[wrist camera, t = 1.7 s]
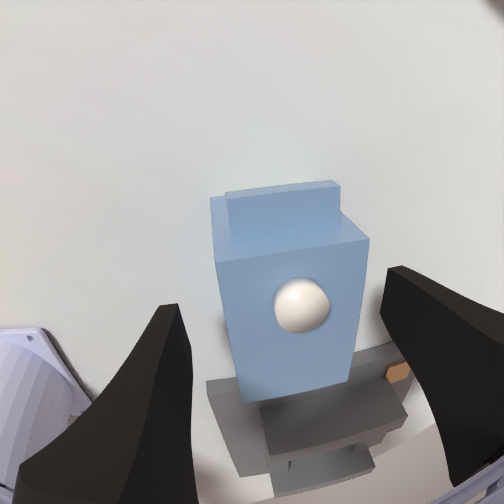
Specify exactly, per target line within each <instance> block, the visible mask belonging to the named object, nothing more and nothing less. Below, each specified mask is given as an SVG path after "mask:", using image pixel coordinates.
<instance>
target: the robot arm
mask: <svg viewBox="0 0 504 504" xmlns="http://www.w3.org/2000/svg"><path fill="white" fill-rule="evenodd" d="M380 315H381V317H382V319H383V322H384V324H385V326H386V328H387V330H388V332H389V334H390V336H391V338H392V340H393V341H394V343H395V344H396V346H397V348H398V349H399V351H400V352H401V354H402V356H403V357H404V359H405V360H406V362H407V363H408V365H409V367H410V368H411V370H412V372H413V373H414V375H415V376H416V378H417V380H418V382H419V383H420V385H421V387H422V389H423V391H424V394H425V396H426V398H427V401H428V403H429V405H430V408H431V410H432V413H433V416H434V418H435V421H436V424H437V427H438V430H439V433H440V436H441V440H442V443H443V447H444V451H445V456H446V460H447V465H448V471H449V478H450V481H451V483H452V485H453V487H456V486H458V485H460V484H461V483H463V482H464V481H466V480H468V479H469V478H471V477H472V476H474V475H475V474H477V473H478V472H480V471H481V470H483V469H484V468H486V467H487V466H489V465H490V466H489V467H487V468H486V469H484V470H483V471H481V472H480V473H478V474H477V475H476V476H474V477H472V478H471V479H469V480H468V481H466V482H465V483H463V484H461V485H460V486H458V487H456V488H455V489H453V490H451V491H450V492H448V493H447V494H444V495H443V496H441V497H439V498H437V499H435V500H433V501H431V502H429V503H427V504H464V503H466V502H467V501H469V500H470V499H472V498H473V497H475V496H476V495H478V494H479V493H480V492H482V491H484V490H485V489H486V488H487V492H486V495H485V497H483V498H482V499H480V500H479V501H477V502H475V503H474V504H504V313H501V312H498V311H496V310H493V309H491V308H488V307H486V306H483V305H481V304H479V303H477V302H475V301H473V300H470V299H468V298H466V297H464V296H462V295H460V294H458V293H456V292H454V291H452V290H450V289H448V288H446V287H445V286H443V285H441V284H439V283H437V282H435V281H433V280H431V279H429V278H427V277H426V276H424V275H422V274H420V273H418V272H416V271H414V270H411V269H409V268H407V267H404V266H397V267H392V268H388V270H387V276H386V282H385V288H384V293H383V299H382V304H381V309H380ZM192 387H193V366H192V351H191V345H190V342H189V339H188V336H187V333H186V329H185V326H184V323H183V320H182V316H181V313H180V309H179V306H178V303H176V304H168V305H160V306H159V307H158V308H157V310H156V312H155V313H154V315H153V317H152V318H151V320H150V322H149V324H148V325H147V327H146V329H145V330H144V332H143V334H142V335H141V337H140V339H139V340H138V342H137V343H136V345H135V347H134V348H133V350H132V351H131V353H130V354H129V356H128V357H127V359H126V360H125V362H124V363H123V365H122V366H121V367H120V369H119V370H118V372H117V373H116V375H115V376H114V377H113V379H112V380H111V381H110V383H109V384H108V385H107V386H106V388H105V389H104V390H103V391H102V393H101V394H100V395H99V396H98V397H97V399H96V400H95V401H94V402H93V403H92V402H91V401H90V399H89V398H88V397H87V395H86V394H85V393H84V391H83V390H82V389H81V387H80V386H79V385H78V383H77V382H76V380H75V379H74V377H73V376H72V375H71V373H70V372H69V370H68V369H67V367H66V366H65V364H64V363H63V361H62V360H61V358H60V356H59V355H58V353H57V352H56V350H55V348H54V347H53V345H52V344H51V342H50V340H49V339H48V337H47V335H46V334H45V332H44V331H43V330H42V329H40V328H19V329H0V504H199V502H198V496H197V490H196V483H195V475H194V468H193V458H192V448H191V410H192ZM70 416H79V417H78V418H77V419H76V421H75V422H73V423H72V424H71V425H70V426H69V427H68V428H67V425H68V421H69V417H70Z"/></svg>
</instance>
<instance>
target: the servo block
mask: <svg viewBox="0 0 504 504" xmlns="http://www.w3.org/2000/svg"><path fill="white" fill-rule="evenodd" d="M210 206H211V220H212V234H213V246H214V259H215V266H216V272H217V278H218V283H219V289H220V294H221V299H222V305H223V310H224V315H225V321H226V326H227V331H228V336H229V341H230V346H231V351H232V356H233V361H234V366H235V370H236V375H237V380H238V385H239V389H240V394H241V398H242V403H249V402H255V401H261V400H266V399H272V398H277V397H282V396H287V395H292V394H297V393H301V392H306V391H310V390H314V389H319V388H323V387H327V386H331V385H334V384H338V383H342V382H346V381H347V380H348V376H349V371H350V366H351V362H352V357H353V352H354V346H355V341H356V336H357V330H358V324H359V318H360V312H361V305H362V299H363V292H364V284H365V277H366V268H367V260H368V250H369V240H370V238H368V237H367V236H366V235H365V234H364V233H363V232H362V231H361V230H360V229H359V228H358V227H357V226H356V225H355V224H354V223H353V222H352V221H351V220H350V219H349V218H347V217H346V216H345V215H344V214H343V213H342V212H341V211H340V185H338V184H337V183H336V182H334V181H333V180H326V181H315V182H305V183H296V184H287V185H278V186H269V187H261V188H253V189H246V190H238V191H231V192H225V196H218V197H211V198H210Z"/></svg>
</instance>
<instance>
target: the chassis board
mask: <svg viewBox="0 0 504 504" xmlns="http://www.w3.org/2000/svg"><path fill="white" fill-rule="evenodd" d="M414 377H415V375H414V373H413V372H412V370H411V368H410V367H409V365H408V363H407V362H406V360H405V359H404V357H403V356H402V354H401V352H400V351H399V349H398V348H397V346H396V344H395V343H394V342H391V343H387V344H384V345H381V346H377V347H374V348H370V349H367V350H363V351H359V352H356V353H353V357H352V362H351V366H350V371H349V376H348V380H347V381H346V382H342V383H338V384H334V385H331V386H327V387H323V388H319V389H314V390H310V391H306V392H301V393H297V394H292V395H287V396H282V397H277V398H272V399H266V400H261V401H255V402H249V403H242V398H241V394H240V389H239V385H238V380H237V377H235V378H228V379H221V380H213V381H206V386H207V396H208V399H209V402H210V404H211V407H212V410H213V412H214V415H215V418H216V420H217V423H218V426H219V428H220V431H221V433H222V436H223V438H224V441H225V443H226V446H227V448H228V451H229V453H230V455H231V458H232V460H233V463H234V465H235V467H236V470H237V472H238V474H239V477H247V476H254V475H260V474H266V473H270V478H271V482H272V487H273V492H274V496H275V498H277V497H283V496H288V495H292V494H297V493H302V492H306V491H310V490H314V489H318V488H322V487H326V486H329V485H333V484H337V483H339V482H343V481H346V480H350V479H353V478H356V477H359V476H362V475H365V474H367V473H370V472H372V471H373V469H374V468H375V464H374V462H373V459H372V457H371V455H370V452H369V450H368V449H369V447H371V446H373V445H376V444H379V443H381V441H382V439H383V438H384V436H385V434H386V433H387V432H390V431H392V430H395V429H397V428H400V427H402V425H403V423H404V422H405V420H406V418H407V417H408V414H407V413H406V411H405V409H404V407H403V405H402V402H403V400H404V398H405V396H406V394H407V392H408V390H409V388H410V385H411V383H412V381H413V379H414Z"/></svg>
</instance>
